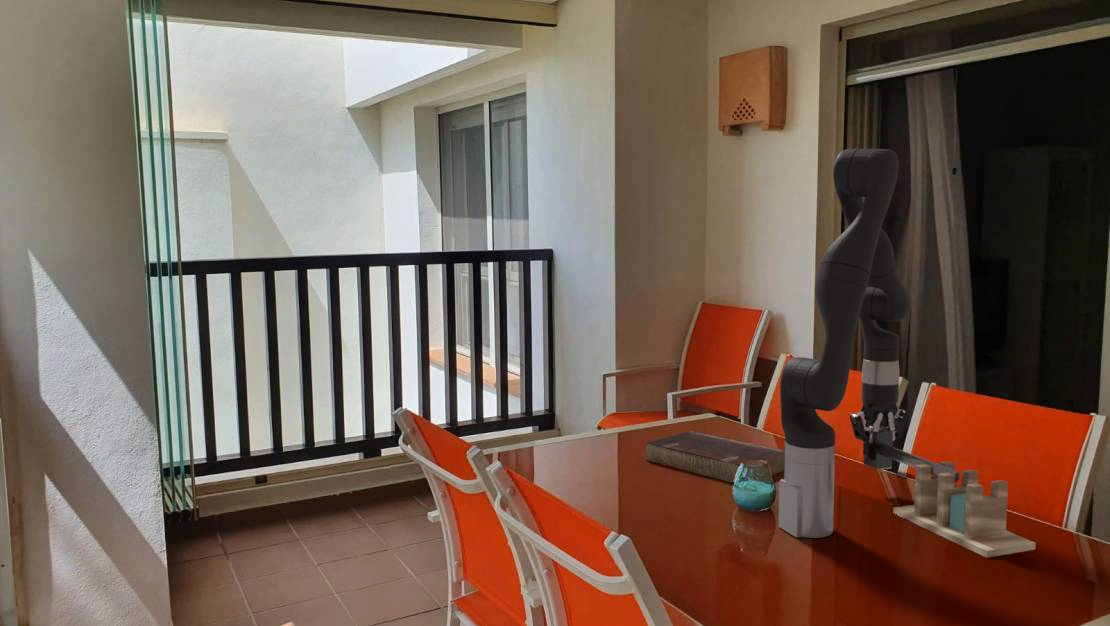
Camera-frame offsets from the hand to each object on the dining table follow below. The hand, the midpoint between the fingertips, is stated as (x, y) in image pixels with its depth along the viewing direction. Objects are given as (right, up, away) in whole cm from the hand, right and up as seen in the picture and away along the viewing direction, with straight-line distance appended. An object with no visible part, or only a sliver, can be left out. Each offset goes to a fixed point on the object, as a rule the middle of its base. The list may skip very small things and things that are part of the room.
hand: (878, 457), depth 185 cm
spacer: (+8, -9, -24) cm, 27 cm away
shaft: (+3, -3, -9) cm, 10 cm away
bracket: (+7, -10, -22) cm, 25 cm away
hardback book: (-31, -6, +24) cm, 39 cm away
